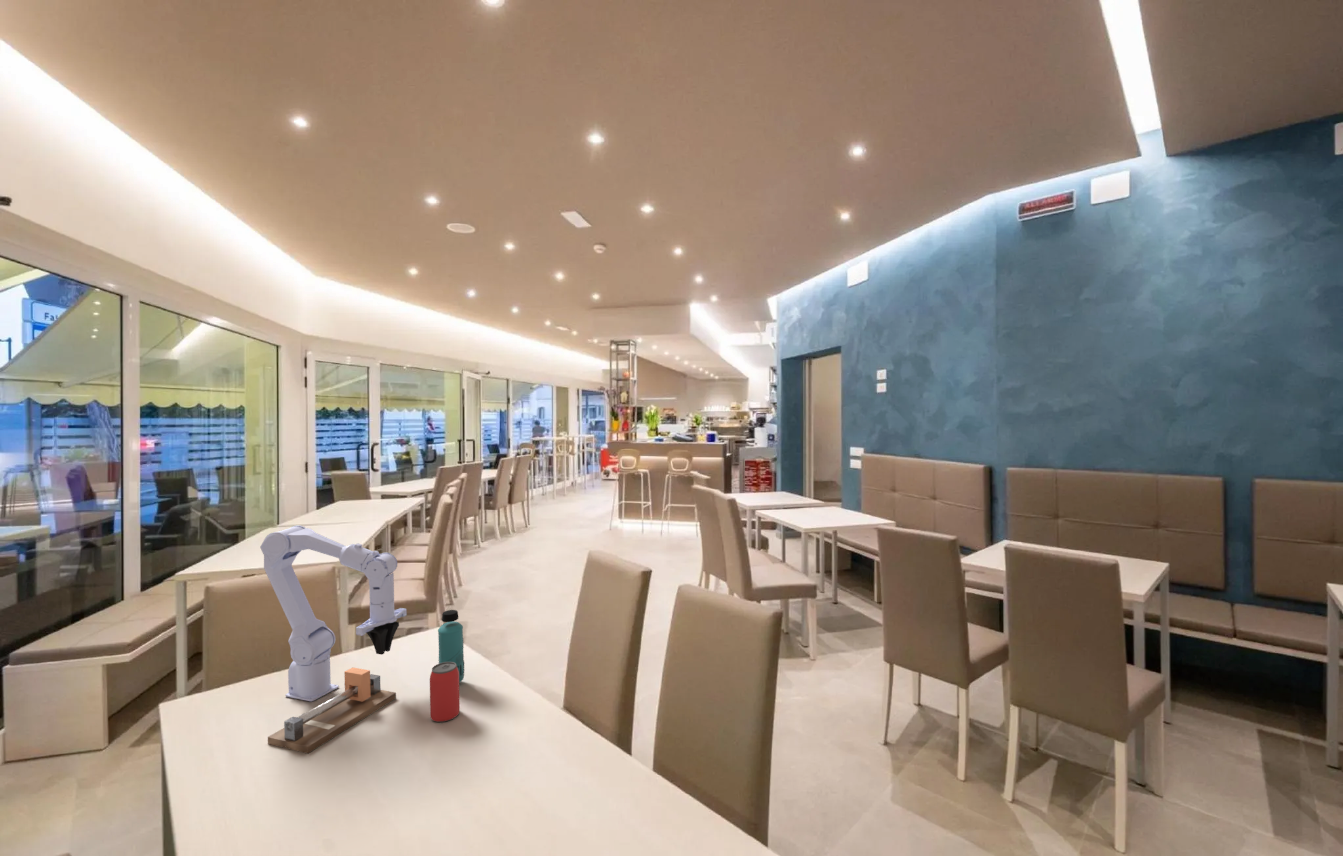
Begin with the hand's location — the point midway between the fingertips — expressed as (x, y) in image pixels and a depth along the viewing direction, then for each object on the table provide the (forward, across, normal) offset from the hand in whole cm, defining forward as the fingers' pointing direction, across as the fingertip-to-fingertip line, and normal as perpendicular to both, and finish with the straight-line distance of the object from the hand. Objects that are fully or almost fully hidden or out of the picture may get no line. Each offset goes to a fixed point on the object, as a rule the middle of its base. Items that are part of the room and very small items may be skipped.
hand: (383, 652), depth 144 cm
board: (+10, -14, 0) cm, 17 cm away
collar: (+8, -8, 0) cm, 11 cm away
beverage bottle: (+11, +8, -15) cm, 20 cm away
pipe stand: (+9, -14, 0) cm, 17 cm away
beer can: (+11, -5, -24) cm, 27 cm away
